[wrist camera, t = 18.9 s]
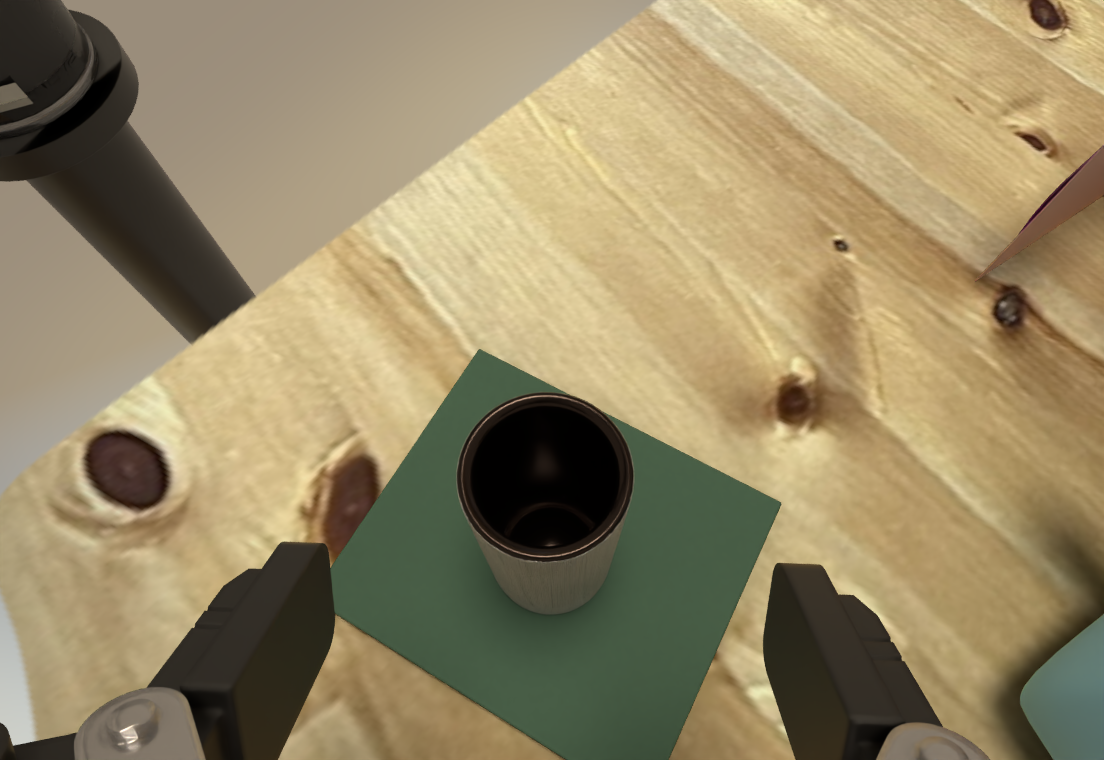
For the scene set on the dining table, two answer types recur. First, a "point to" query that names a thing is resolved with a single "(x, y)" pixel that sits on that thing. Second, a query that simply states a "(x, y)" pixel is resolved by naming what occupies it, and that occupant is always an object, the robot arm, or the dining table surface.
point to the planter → (546, 497)
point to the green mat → (569, 638)
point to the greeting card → (1059, 206)
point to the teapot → (1070, 698)
